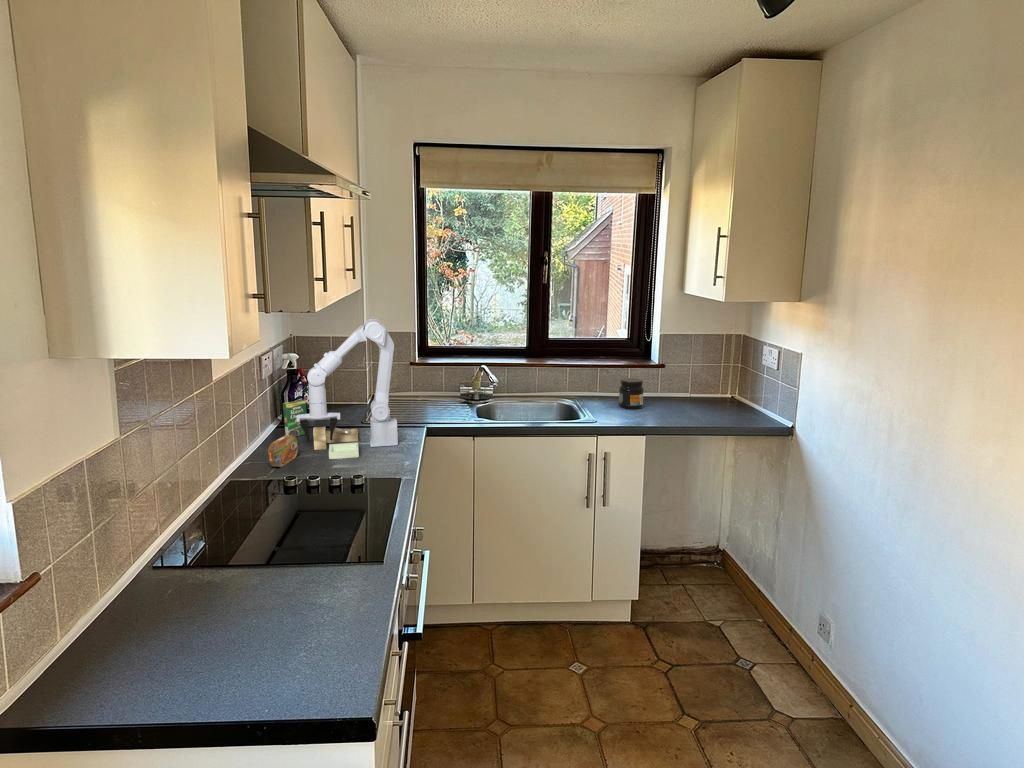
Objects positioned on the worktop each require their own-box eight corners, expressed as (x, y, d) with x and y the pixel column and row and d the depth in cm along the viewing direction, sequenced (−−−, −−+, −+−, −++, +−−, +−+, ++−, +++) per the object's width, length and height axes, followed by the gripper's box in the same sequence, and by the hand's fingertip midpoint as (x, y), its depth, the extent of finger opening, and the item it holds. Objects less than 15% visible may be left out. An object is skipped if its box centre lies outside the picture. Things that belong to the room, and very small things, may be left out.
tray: (358, 448, 237) (358, 442, 237) (358, 457, 228) (358, 450, 227) (329, 450, 235) (329, 444, 234) (329, 459, 226) (328, 452, 225)
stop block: (326, 445, 240) (325, 426, 239) (326, 449, 237) (325, 429, 235) (314, 446, 240) (313, 427, 238) (314, 449, 236) (313, 430, 234)
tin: (276, 470, 215) (274, 445, 213) (267, 470, 215) (265, 444, 214) (300, 456, 229) (298, 431, 227) (291, 455, 230) (289, 431, 228)
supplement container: (647, 409, 292) (648, 381, 290) (624, 410, 290) (625, 383, 287) (637, 403, 302) (638, 377, 300) (614, 404, 300) (615, 378, 297)
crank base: (357, 432, 256) (357, 428, 256) (358, 441, 246) (358, 437, 246) (324, 434, 254) (324, 430, 253) (323, 443, 243) (323, 439, 243)
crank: (353, 432, 250) (352, 420, 249) (346, 435, 247) (346, 422, 246) (332, 428, 255) (331, 416, 254) (325, 430, 253) (325, 417, 252)
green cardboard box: (288, 438, 248) (285, 403, 246) (284, 437, 251) (282, 402, 248) (308, 434, 254) (306, 400, 251) (305, 432, 256) (302, 398, 253)
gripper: (339, 398, 240) (341, 435, 243) (296, 400, 237) (298, 438, 240) (339, 403, 233) (341, 441, 236) (295, 405, 230) (297, 443, 233)
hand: (319, 440), depth 238 cm, fingers open, 7 cm apart
